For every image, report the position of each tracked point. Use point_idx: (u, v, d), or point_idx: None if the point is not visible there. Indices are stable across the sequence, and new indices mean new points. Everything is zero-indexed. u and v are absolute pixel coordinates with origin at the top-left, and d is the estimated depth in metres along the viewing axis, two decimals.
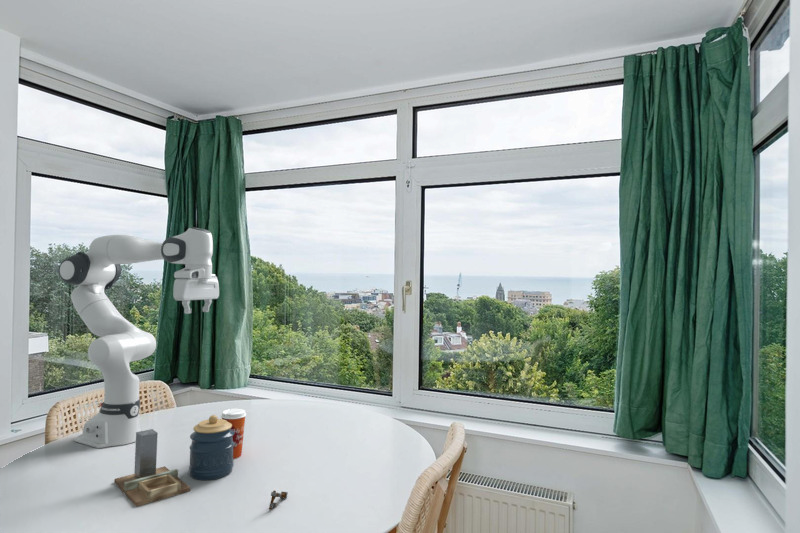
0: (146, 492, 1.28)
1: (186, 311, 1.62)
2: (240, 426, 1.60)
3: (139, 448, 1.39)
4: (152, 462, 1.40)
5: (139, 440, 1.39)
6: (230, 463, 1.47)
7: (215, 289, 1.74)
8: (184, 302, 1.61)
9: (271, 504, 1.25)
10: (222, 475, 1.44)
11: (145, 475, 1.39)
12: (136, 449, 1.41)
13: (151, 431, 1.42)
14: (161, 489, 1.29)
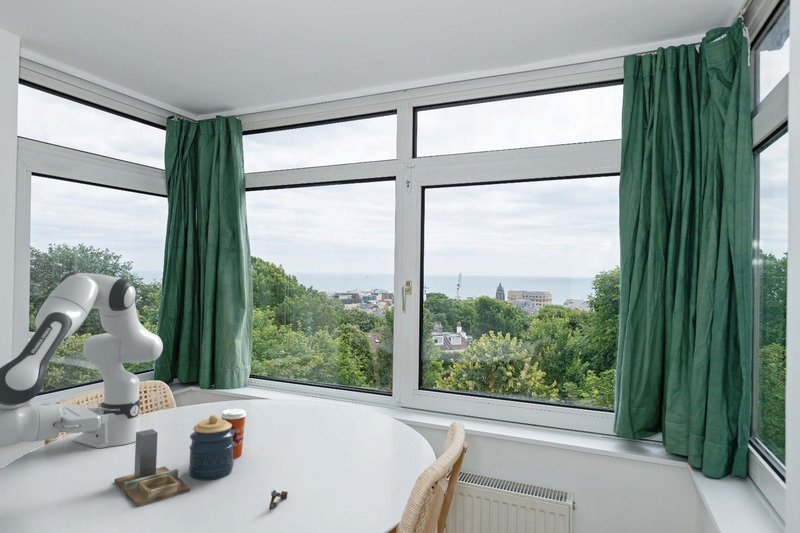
0: (146, 492, 1.28)
1: None
2: (240, 426, 1.60)
3: (139, 448, 1.39)
4: (152, 462, 1.40)
5: (139, 440, 1.39)
6: (230, 463, 1.47)
7: None
8: None
9: (271, 504, 1.25)
10: (222, 475, 1.44)
11: (145, 475, 1.39)
12: (136, 449, 1.41)
13: (151, 431, 1.42)
14: (161, 489, 1.29)
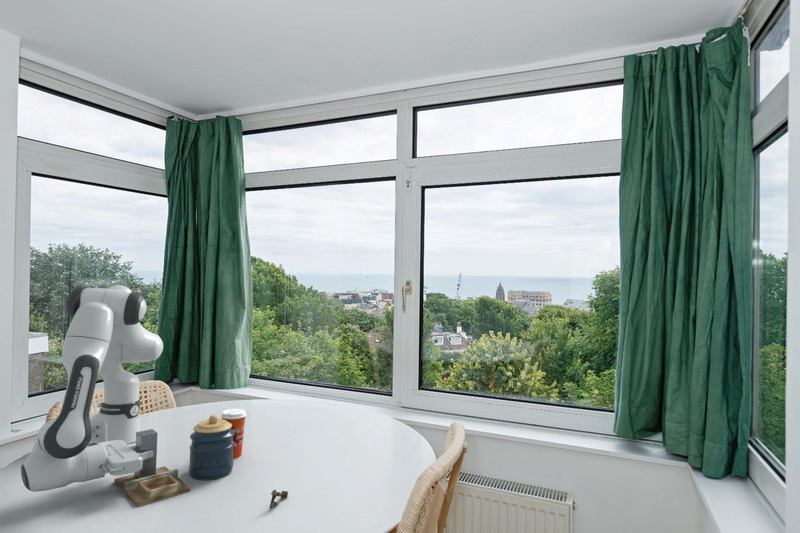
0: (146, 492, 1.28)
1: None
2: (240, 426, 1.60)
3: (139, 448, 1.39)
4: (152, 462, 1.40)
5: (139, 440, 1.39)
6: (230, 463, 1.47)
7: None
8: None
9: (271, 503, 1.25)
10: (222, 475, 1.44)
11: (145, 475, 1.39)
12: (136, 449, 1.41)
13: (151, 431, 1.42)
14: (161, 489, 1.29)
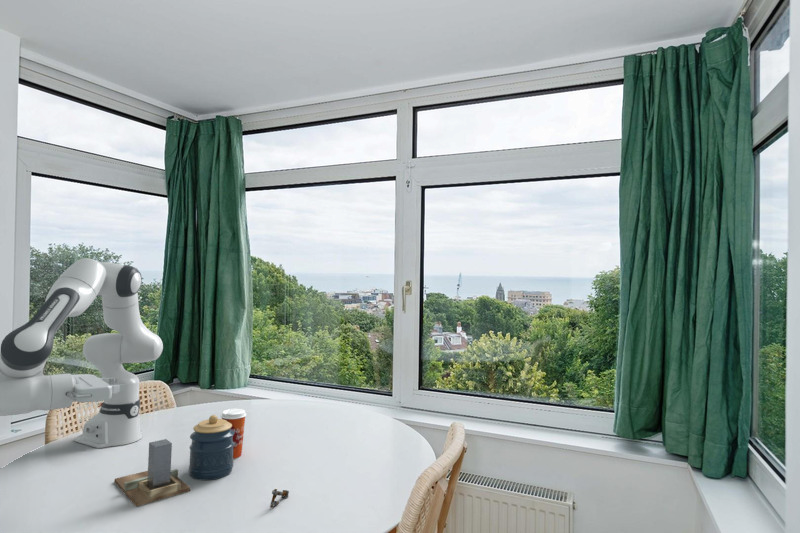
0: (146, 492, 1.28)
1: None
2: (240, 426, 1.60)
3: (153, 460, 1.30)
4: (166, 474, 1.32)
5: (152, 451, 1.31)
6: (230, 463, 1.47)
7: None
8: None
9: (272, 502, 1.26)
10: (222, 475, 1.44)
11: None
12: (149, 461, 1.32)
13: (165, 441, 1.34)
14: (161, 489, 1.29)
